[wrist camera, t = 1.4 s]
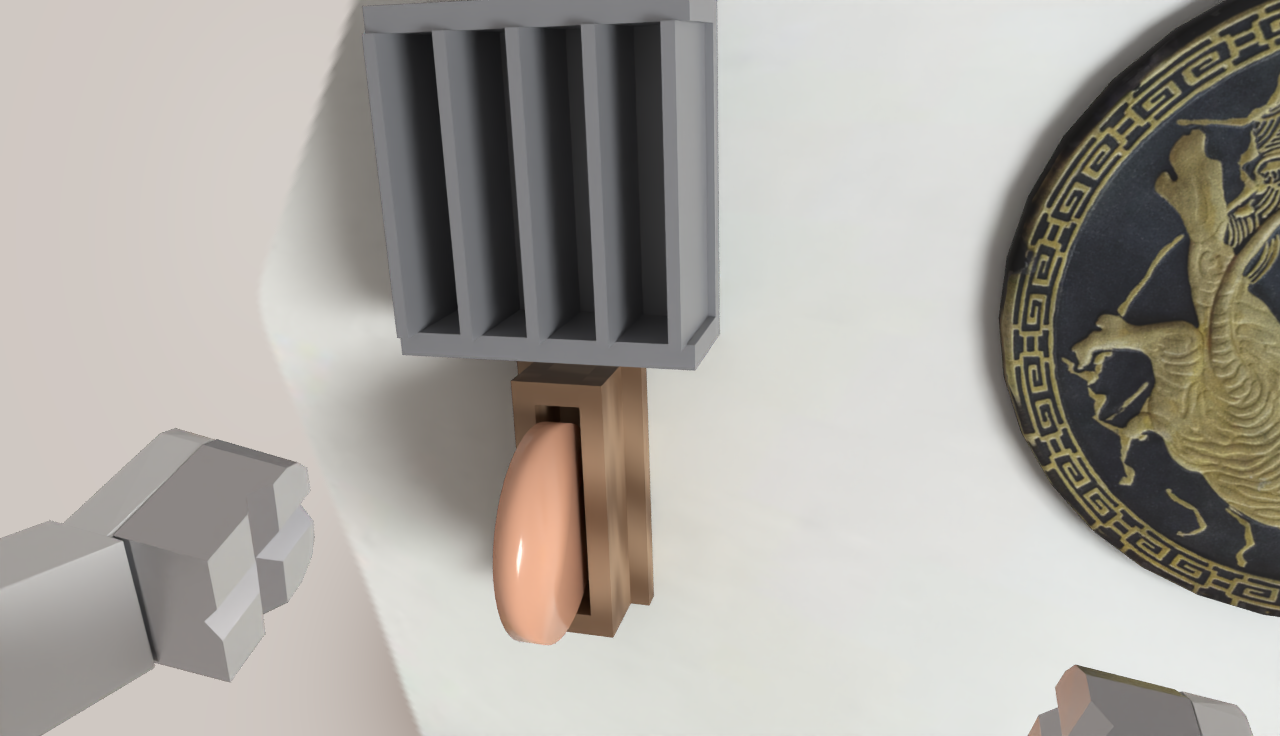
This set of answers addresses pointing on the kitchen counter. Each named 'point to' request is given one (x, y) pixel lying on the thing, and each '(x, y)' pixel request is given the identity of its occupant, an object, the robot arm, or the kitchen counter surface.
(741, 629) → the kitchen counter surface
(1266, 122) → the decorative plate
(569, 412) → the walnut plate stand
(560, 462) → the terracotta plate
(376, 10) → the charcoal dish rack
